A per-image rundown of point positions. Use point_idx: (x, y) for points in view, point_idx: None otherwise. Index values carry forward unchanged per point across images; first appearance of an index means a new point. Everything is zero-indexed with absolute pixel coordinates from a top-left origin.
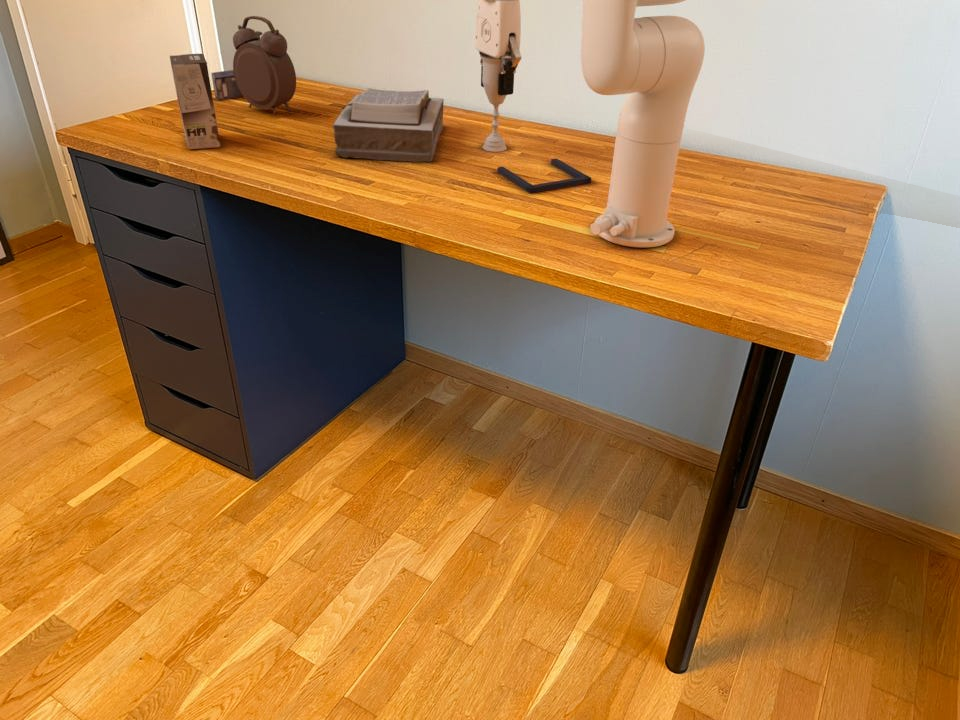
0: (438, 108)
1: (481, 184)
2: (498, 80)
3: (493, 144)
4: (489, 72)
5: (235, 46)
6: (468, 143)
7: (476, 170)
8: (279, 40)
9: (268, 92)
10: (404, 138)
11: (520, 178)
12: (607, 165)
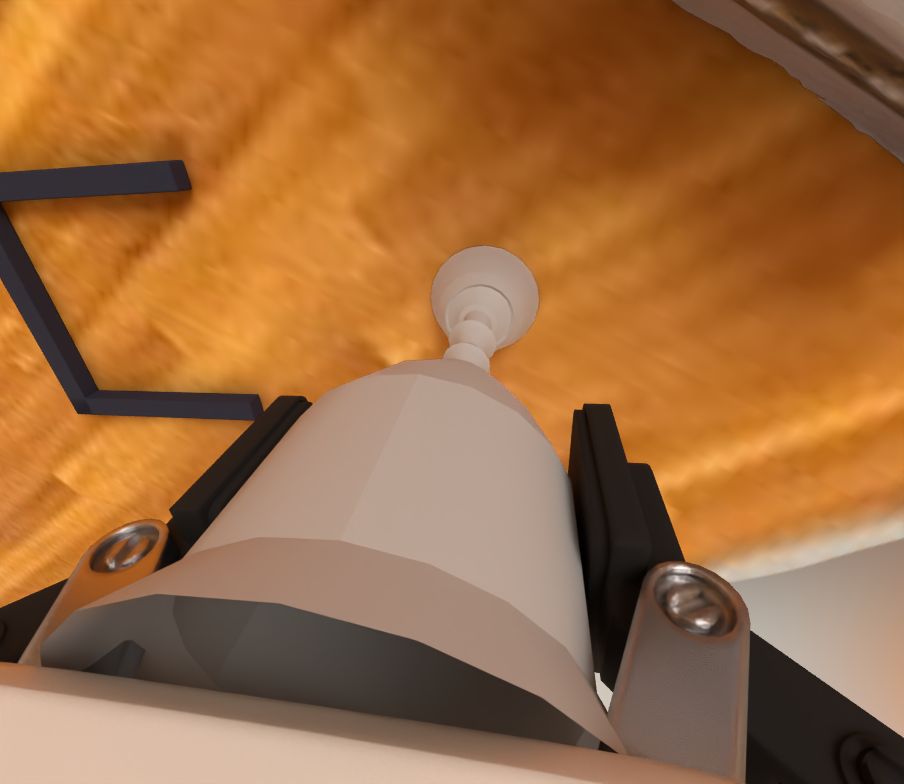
0: (897, 23)
1: (31, 2)
2: (231, 461)
3: (445, 285)
4: (271, 461)
5: None
6: (597, 214)
7: (212, 67)
8: None
9: None
10: None
11: (40, 192)
12: None
